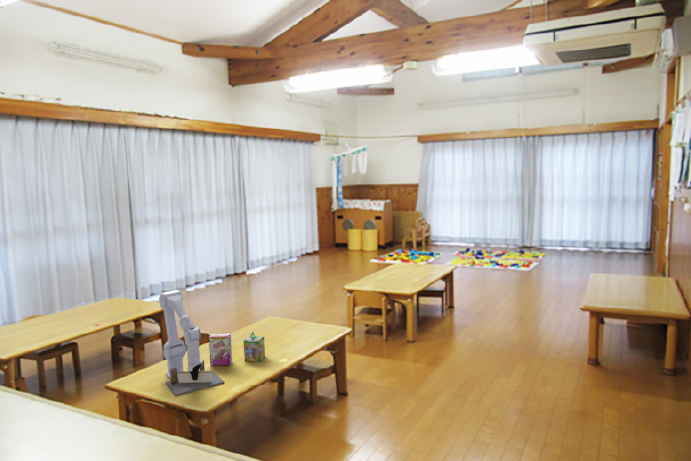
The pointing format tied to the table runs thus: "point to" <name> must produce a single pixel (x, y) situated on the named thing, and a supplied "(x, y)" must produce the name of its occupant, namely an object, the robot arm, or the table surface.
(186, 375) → the gate
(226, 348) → the candy bar box
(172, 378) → the gate posts
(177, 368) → the robot arm
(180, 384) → the mat
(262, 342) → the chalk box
